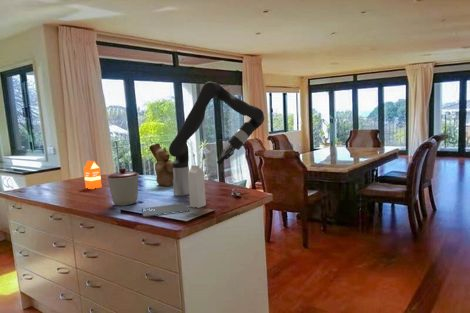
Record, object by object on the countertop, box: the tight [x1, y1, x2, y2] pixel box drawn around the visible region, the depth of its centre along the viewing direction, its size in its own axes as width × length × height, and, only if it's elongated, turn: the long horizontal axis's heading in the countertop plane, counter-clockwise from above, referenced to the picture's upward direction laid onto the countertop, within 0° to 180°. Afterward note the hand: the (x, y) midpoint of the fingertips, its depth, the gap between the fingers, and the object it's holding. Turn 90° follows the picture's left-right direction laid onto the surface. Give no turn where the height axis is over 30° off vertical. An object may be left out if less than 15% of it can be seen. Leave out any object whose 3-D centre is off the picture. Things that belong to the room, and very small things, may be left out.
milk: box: [188, 165, 207, 209], centre depth 187 cm, size 6×6×22 cm
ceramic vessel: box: [148, 142, 174, 187], centre depth 255 cm, size 16×22×30 cm
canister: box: [105, 167, 140, 207], centre depth 202 cm, size 18×18×21 cm
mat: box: [141, 202, 190, 218], centre depth 183 cm, size 23×16×1 cm
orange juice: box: [83, 160, 103, 190], centre depth 259 cm, size 8×9×20 cm
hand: (218, 163), depth 190 cm, fingers closed
